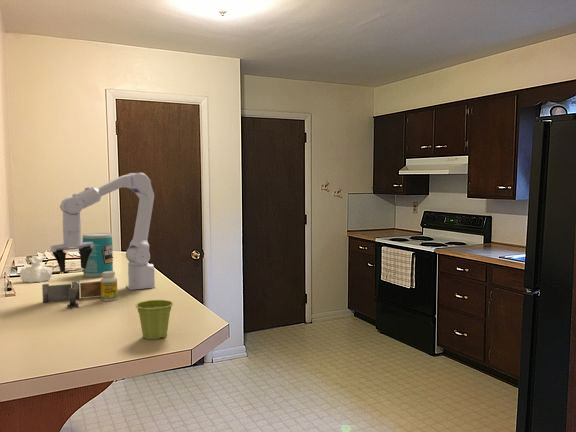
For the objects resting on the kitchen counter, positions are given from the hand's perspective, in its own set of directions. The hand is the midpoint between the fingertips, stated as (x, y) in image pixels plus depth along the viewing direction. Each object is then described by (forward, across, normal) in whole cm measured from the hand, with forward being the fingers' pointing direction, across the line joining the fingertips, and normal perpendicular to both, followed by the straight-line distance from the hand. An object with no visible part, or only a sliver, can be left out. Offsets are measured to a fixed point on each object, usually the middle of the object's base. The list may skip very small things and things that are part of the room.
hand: (73, 269), depth 170 cm
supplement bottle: (+10, -5, +14) cm, 18 cm away
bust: (+10, -4, -37) cm, 39 cm away
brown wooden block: (+9, -5, +8) cm, 13 cm away
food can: (+10, -27, -30) cm, 41 cm away
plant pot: (+10, +10, +60) cm, 61 cm away
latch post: (+10, +8, +14) cm, 19 cm away
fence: (+9, +6, +3) cm, 12 cm away
